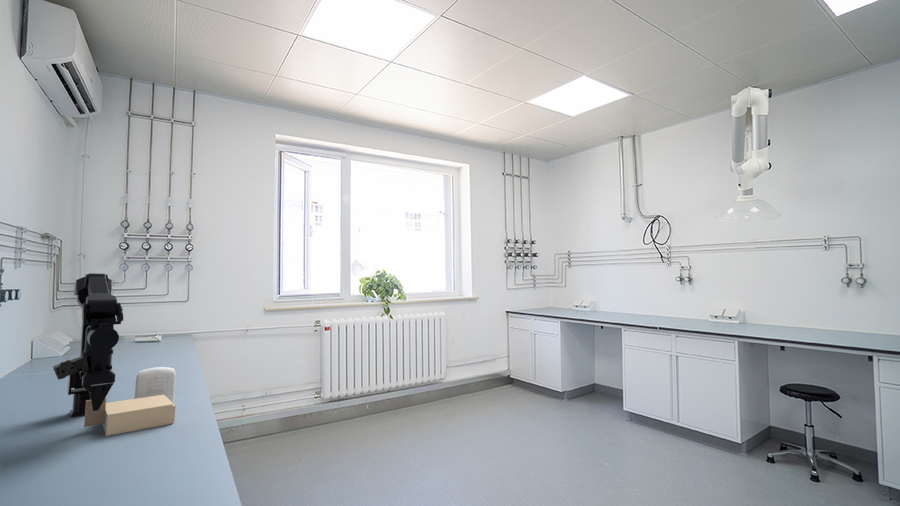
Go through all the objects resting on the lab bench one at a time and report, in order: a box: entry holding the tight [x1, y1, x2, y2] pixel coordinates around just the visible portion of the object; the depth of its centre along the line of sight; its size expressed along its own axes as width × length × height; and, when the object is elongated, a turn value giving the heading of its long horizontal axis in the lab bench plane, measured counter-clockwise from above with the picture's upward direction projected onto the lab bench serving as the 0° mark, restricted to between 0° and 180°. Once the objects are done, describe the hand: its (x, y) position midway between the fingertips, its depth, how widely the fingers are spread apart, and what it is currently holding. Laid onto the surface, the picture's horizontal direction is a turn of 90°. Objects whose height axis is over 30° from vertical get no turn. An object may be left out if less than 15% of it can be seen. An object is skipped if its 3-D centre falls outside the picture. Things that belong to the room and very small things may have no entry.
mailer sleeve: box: [101, 395, 176, 437], centre depth 115 cm, size 14×15×5 cm
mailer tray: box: [83, 397, 107, 432], centre depth 114 cm, size 12×18×7 cm, turn 133°
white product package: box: [134, 366, 177, 405], centre depth 130 cm, size 10×4×12 cm, turn 123°
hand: (94, 406), depth 109 cm, fingers open, 9 cm apart
